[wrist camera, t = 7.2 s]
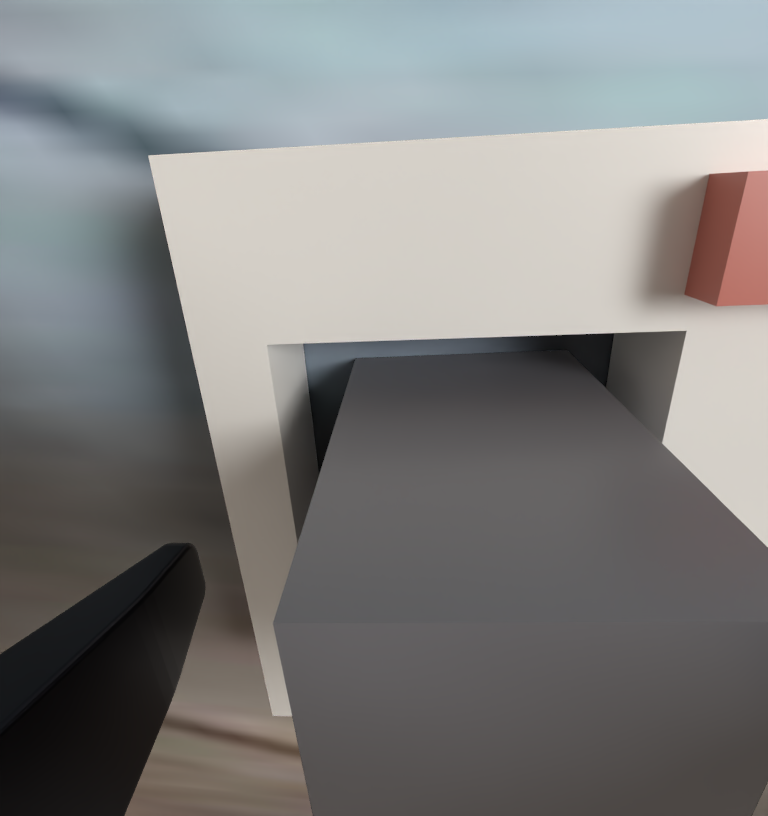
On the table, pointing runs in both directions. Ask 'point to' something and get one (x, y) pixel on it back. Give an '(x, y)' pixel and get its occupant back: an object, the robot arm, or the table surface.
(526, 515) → the plug
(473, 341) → the table surface
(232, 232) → the faceplate
